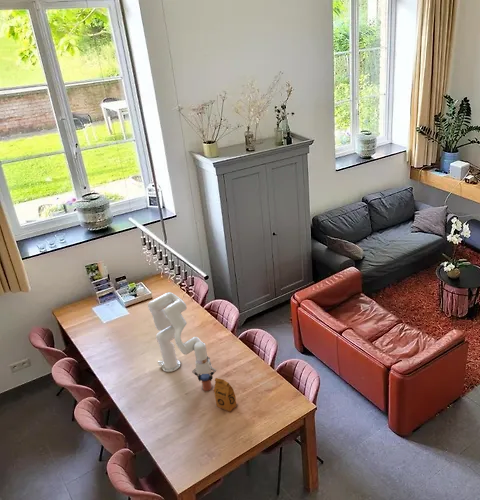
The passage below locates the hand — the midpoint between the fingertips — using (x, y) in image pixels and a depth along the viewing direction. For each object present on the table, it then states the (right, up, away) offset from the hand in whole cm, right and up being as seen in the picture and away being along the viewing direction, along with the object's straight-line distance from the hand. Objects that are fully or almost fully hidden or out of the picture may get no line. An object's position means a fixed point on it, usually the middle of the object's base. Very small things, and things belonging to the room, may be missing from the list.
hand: (205, 379), depth 356 cm
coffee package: (+17, -15, -12) cm, 25 cm away
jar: (0, -6, +3) cm, 7 cm away
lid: (0, +3, -1) cm, 3 cm away
